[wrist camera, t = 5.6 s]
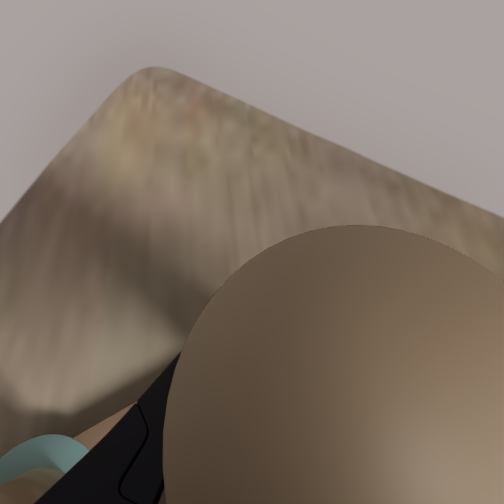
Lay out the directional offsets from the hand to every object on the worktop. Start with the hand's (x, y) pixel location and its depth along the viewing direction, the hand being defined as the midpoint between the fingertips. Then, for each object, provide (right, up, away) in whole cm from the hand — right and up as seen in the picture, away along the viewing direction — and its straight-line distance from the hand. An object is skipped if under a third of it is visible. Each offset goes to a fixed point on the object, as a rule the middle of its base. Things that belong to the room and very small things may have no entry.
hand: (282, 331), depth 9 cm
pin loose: (0, -4, +6) cm, 7 cm away
